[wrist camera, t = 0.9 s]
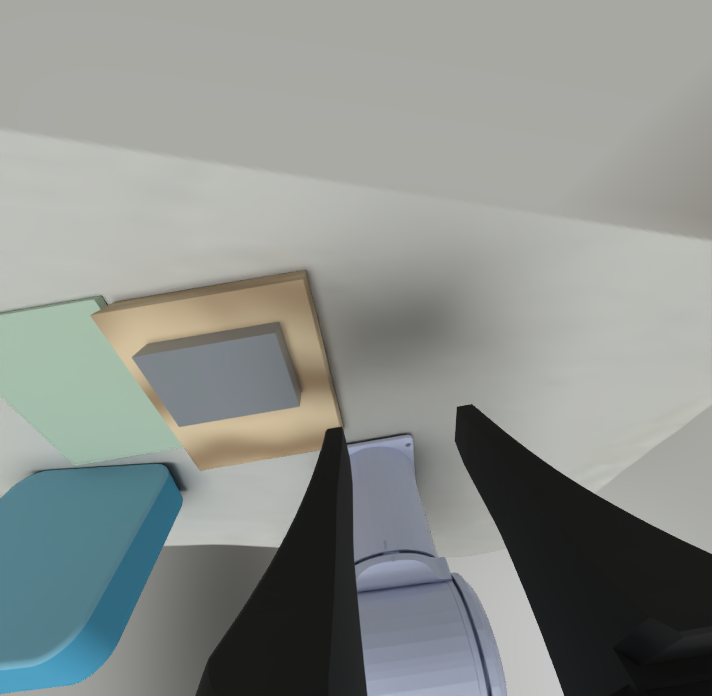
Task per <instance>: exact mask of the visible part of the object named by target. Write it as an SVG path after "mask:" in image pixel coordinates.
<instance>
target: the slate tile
mask: <svg viewBox="0 0 712 696" xmlns="http://www.w3.org/2000/svg"><path fill="white" fill-rule="evenodd" d="M132 359H133V360H134V362H135V363H136V365H137V366H138V368H139V369H140V371H141V372H142V373H143V375H144V376H145V378H146V379H147V381H148V382H149V384H150V385H151V387H152V388H153V390H154V391H155V392H156V394H157V395H158V397H159V398H160V400H161V401H162V403H163V404H164V406H165V407H166V409H167V410H168V412H169V413H170V414H171V416H172V417H173V419H174V420H175V422H176V423H177V425H178V426H179V427H183V426H189V425H195V424H200V423H206V422H212V421H218V420H224V419H230V418H236V417H242V416H247V415H253V414H259V413H265V412H271V411H277V410H283V409H289V408H295V407H300V402H301V394H302V391H301V388H300V385H299V381H298V378H297V375H296V372H295V369H294V366H293V363H292V360H291V356H290V353H289V350H288V347H287V344H286V341H285V338H284V335H283V332H282V328H281V325H280V322H273V323H267V324H261V325H256V326H250V327H244V328H238V329H232V330H226V331H220V332H214V333H208V334H202V335H196V336H191V337H185V338H179V339H173V340H167V341H161V342H155V343H149V344H146V345H145V346H144V347H143V348H142V349H141V350H139V351H138V352H137V353H136V354H135V355H134V356H132Z"/></svg>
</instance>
